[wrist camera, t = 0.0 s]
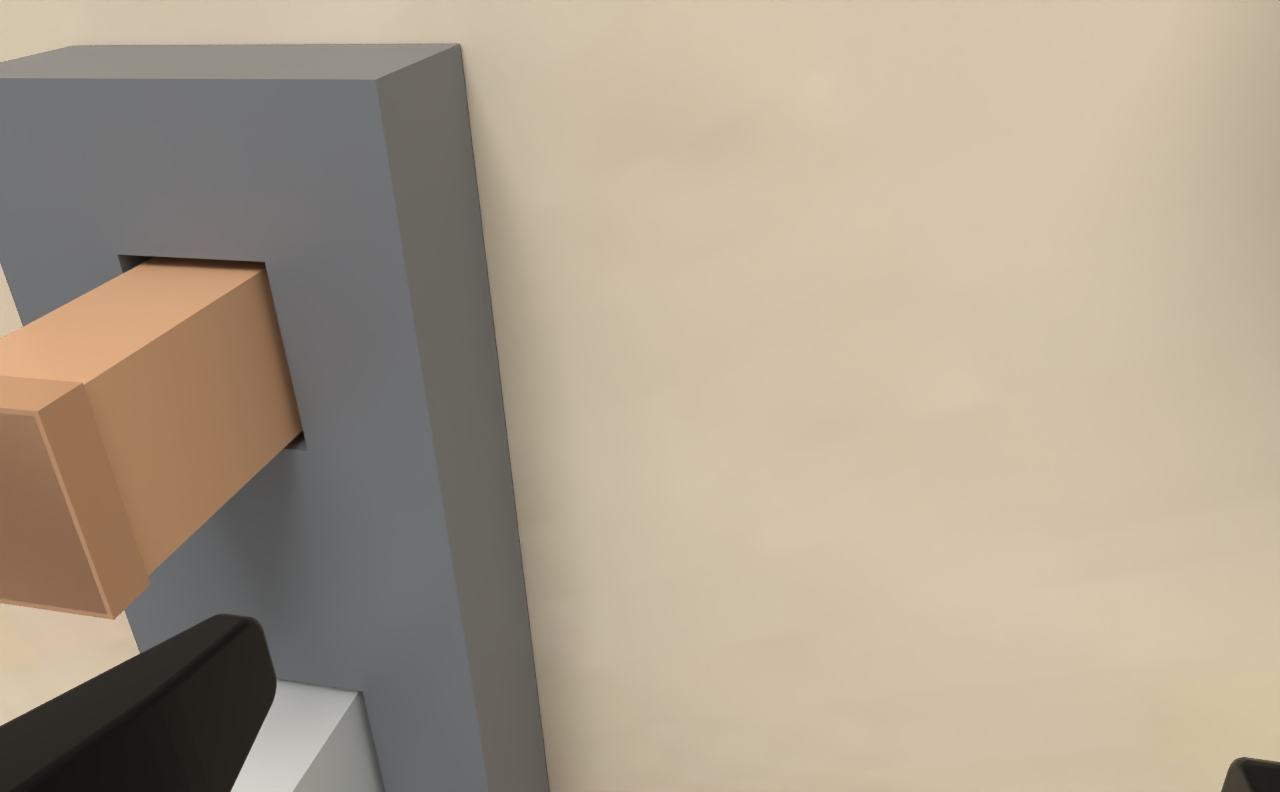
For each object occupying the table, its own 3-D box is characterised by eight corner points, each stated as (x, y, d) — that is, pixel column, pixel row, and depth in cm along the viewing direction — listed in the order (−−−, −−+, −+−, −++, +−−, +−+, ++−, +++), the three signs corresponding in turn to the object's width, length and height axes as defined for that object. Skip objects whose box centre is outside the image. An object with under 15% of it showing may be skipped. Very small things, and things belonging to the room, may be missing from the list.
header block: (551, 806, 33) (509, 917, 30) (280, 759, 35) (212, 856, 32) (460, 43, 22) (375, 79, 19) (73, 45, 24) (-66, 77, 21)
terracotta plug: (374, 369, 26) (114, 619, 18) (266, 361, 27) (-35, 597, 19) (346, 214, 24) (37, 411, 16) (230, 210, 25) (-125, 396, 17)
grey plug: (437, 708, 32) (261, 1022, 23) (345, 694, 33) (143, 993, 24) (418, 604, 30) (218, 905, 21) (321, 591, 31) (90, 877, 22)
